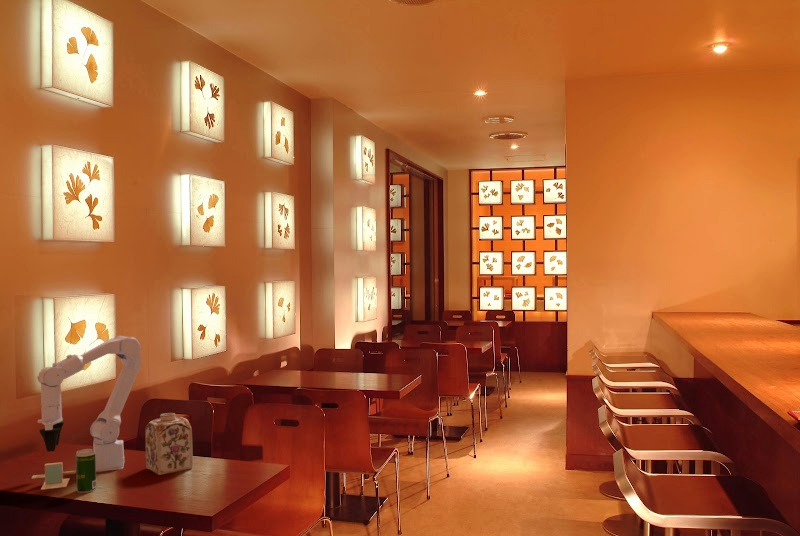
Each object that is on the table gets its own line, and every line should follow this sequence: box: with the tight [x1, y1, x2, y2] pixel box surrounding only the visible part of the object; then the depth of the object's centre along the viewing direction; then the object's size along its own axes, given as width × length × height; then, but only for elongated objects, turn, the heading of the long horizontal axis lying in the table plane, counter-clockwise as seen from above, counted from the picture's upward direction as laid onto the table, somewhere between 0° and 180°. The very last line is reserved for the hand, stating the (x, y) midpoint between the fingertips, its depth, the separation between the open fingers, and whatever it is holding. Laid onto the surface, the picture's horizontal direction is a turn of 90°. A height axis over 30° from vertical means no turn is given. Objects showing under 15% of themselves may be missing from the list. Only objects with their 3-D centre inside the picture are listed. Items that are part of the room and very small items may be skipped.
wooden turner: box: [30, 470, 76, 480], centre depth 231 cm, size 12×4×1 cm, turn 109°
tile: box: [44, 461, 64, 485], centre depth 222 cm, size 2×5×6 cm, turn 109°
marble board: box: [40, 477, 71, 490], centre depth 221 cm, size 7×10×1 cm
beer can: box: [75, 448, 97, 494], centre depth 214 cm, size 5×5×12 cm
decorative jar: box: [144, 412, 194, 476], centre depth 236 cm, size 12×12×18 cm
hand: (52, 448), depth 227 cm, fingers open, 7 cm apart
